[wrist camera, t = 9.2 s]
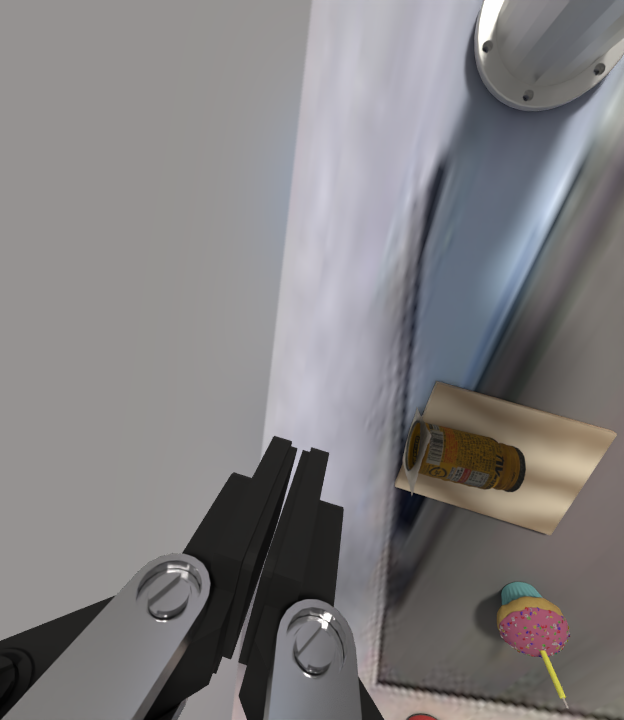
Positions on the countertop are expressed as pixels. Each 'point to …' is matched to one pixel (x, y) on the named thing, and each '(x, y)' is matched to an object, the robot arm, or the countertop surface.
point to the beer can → (421, 717)
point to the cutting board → (534, 439)
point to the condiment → (461, 458)
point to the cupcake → (532, 625)
